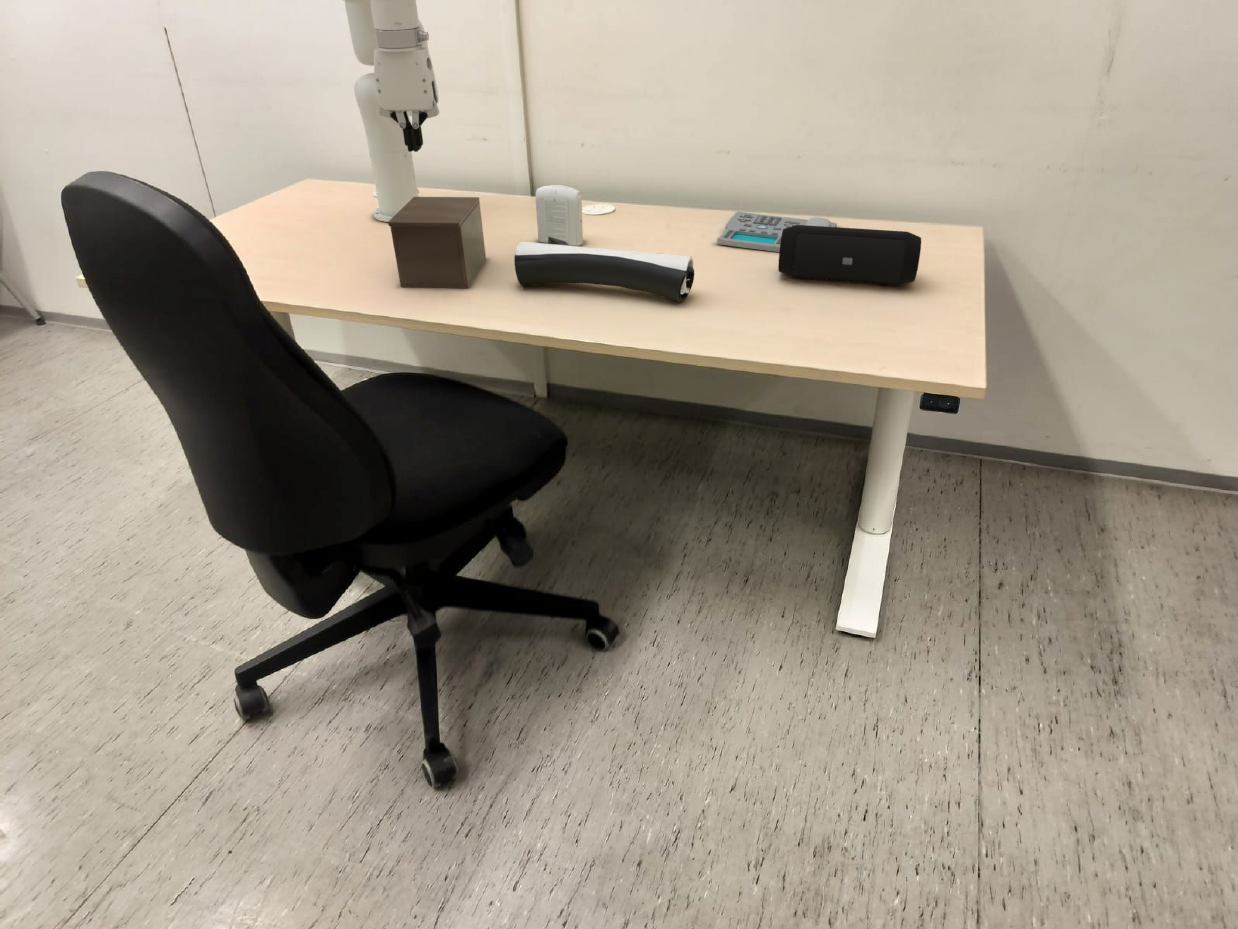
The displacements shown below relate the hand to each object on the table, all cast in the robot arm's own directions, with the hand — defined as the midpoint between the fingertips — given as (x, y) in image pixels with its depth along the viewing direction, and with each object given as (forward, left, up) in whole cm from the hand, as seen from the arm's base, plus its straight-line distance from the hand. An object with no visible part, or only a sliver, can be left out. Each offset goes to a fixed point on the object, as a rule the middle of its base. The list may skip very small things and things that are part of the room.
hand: (414, 149), depth 156 cm
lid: (-3, +1, -13) cm, 13 cm away
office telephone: (-29, +69, -25) cm, 79 cm away
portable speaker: (-4, +81, -25) cm, 85 cm away
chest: (-4, +1, -25) cm, 26 cm away
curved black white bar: (+1, +35, -25) cm, 43 cm away
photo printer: (-23, +22, -25) cm, 41 cm away
